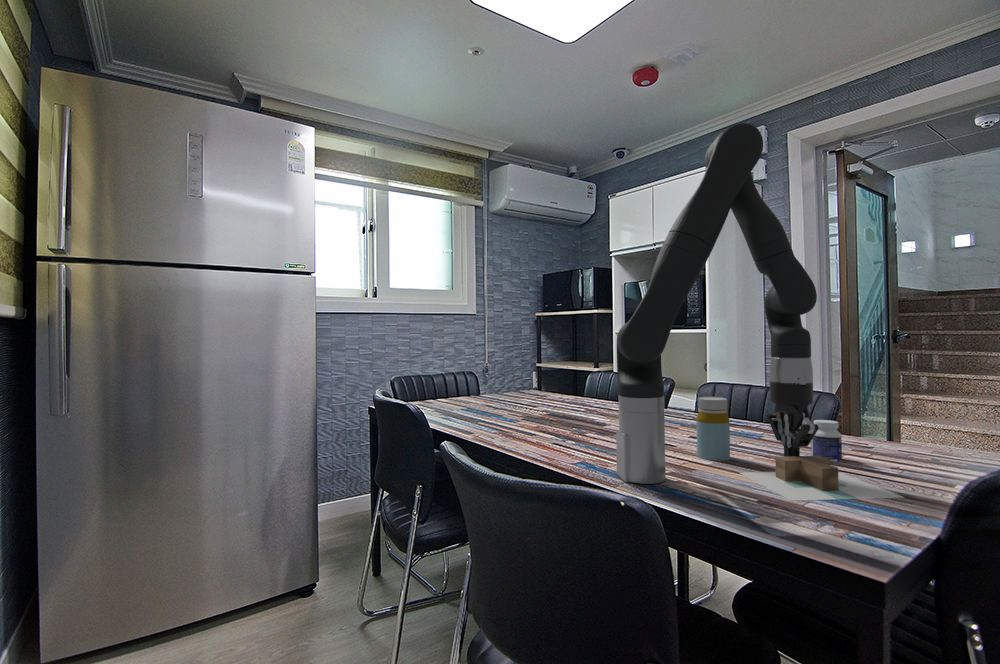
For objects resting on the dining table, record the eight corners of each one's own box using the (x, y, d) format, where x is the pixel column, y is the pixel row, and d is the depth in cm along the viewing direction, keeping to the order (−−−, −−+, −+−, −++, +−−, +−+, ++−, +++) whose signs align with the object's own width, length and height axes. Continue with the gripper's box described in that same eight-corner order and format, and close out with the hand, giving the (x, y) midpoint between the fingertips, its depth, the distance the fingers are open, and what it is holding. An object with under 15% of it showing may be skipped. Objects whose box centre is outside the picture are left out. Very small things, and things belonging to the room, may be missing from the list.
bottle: (730, 461, 116) (729, 397, 116) (730, 468, 109) (729, 400, 109) (698, 458, 118) (697, 395, 119) (696, 465, 112) (695, 399, 112)
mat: (791, 509, 84) (791, 500, 84) (738, 479, 101) (738, 472, 101) (904, 506, 85) (904, 497, 85) (833, 477, 102) (833, 470, 102)
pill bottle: (847, 469, 107) (846, 423, 108) (818, 468, 109) (817, 423, 109) (834, 462, 113) (834, 419, 113) (807, 461, 114) (806, 418, 114)
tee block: (806, 491, 88) (805, 469, 88) (775, 477, 97) (775, 456, 97) (854, 489, 89) (854, 467, 89) (819, 475, 98) (819, 455, 98)
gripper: (754, 377, 106) (755, 457, 106) (794, 383, 93) (795, 475, 93) (787, 376, 106) (788, 456, 106) (832, 382, 93) (833, 474, 93)
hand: (791, 465), depth 100 cm, fingers closed
